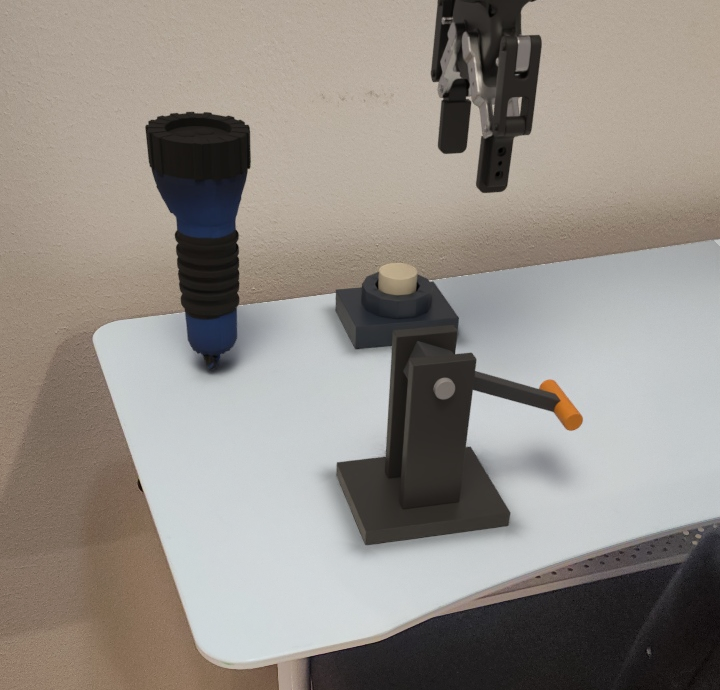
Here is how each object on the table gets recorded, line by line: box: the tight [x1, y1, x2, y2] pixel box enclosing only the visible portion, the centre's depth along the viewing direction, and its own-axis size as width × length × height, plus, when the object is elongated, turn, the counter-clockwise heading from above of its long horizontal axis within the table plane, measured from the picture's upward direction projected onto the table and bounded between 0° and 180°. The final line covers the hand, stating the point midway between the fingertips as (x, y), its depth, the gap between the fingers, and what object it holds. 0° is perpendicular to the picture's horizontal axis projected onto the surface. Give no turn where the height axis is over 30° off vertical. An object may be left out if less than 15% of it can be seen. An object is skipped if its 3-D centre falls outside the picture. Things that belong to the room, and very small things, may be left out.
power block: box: [335, 271, 460, 350], centre depth 95 cm, size 10×8×4 cm
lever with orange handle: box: [403, 341, 584, 432], centre depth 71 cm, size 13×5×2 cm, turn 105°
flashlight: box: [144, 111, 252, 370], centre depth 83 cm, size 8×8×20 cm
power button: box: [378, 262, 418, 295], centre depth 93 cm, size 4×4×2 cm
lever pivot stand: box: [336, 325, 511, 546], centre depth 72 cm, size 11×9×13 cm
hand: (470, 170), depth 76 cm, fingers open, 8 cm apart
